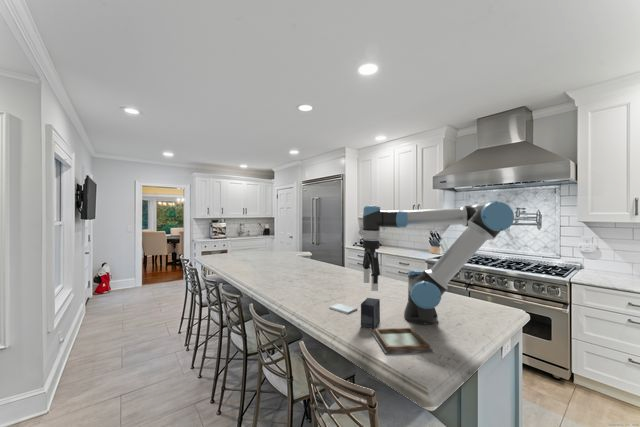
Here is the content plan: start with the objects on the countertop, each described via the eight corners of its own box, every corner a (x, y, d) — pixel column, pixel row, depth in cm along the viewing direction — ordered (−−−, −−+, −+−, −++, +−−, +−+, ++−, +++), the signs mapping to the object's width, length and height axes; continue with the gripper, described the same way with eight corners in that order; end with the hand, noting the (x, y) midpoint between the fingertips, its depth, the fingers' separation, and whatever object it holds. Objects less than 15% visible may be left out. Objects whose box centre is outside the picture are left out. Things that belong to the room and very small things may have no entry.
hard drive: (357, 308, 144) (338, 302, 152) (348, 312, 138) (329, 306, 146) (357, 311, 144) (338, 305, 152) (348, 315, 138) (329, 309, 146)
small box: (366, 318, 132) (366, 296, 132) (380, 321, 129) (380, 298, 129) (359, 327, 123) (360, 303, 123) (374, 329, 120) (374, 305, 120)
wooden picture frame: (412, 331, 119) (412, 326, 119) (433, 352, 101) (433, 346, 101) (371, 332, 117) (371, 327, 117) (385, 354, 99) (385, 348, 99)
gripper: (356, 237, 138) (356, 279, 138) (370, 242, 113) (369, 294, 113) (371, 237, 139) (370, 279, 139) (388, 242, 114) (387, 294, 114)
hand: (370, 286), depth 126 cm, fingers open, 13 cm apart
